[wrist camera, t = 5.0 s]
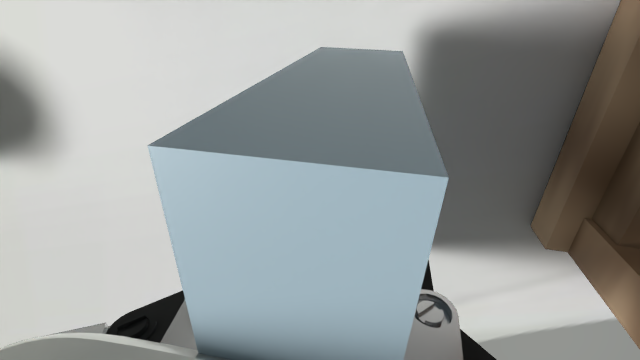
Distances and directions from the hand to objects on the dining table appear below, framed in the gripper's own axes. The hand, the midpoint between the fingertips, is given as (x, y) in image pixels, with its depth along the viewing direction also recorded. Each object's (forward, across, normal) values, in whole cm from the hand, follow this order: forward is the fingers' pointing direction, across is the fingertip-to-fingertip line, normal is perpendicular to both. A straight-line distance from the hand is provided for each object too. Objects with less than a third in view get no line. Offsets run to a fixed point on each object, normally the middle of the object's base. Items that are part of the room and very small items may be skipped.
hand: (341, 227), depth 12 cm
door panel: (+3, 0, 0) cm, 3 cm away
